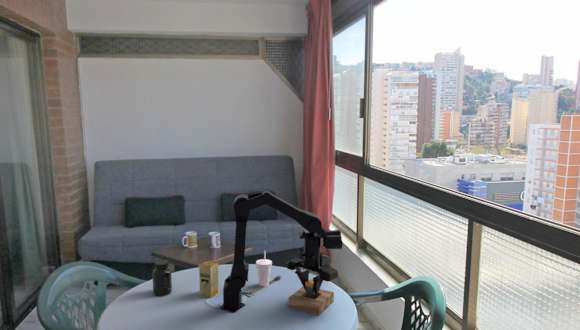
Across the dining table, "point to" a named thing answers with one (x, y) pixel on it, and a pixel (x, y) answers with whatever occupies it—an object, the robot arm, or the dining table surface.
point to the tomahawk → (260, 287)
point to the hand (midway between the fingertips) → (311, 292)
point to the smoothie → (264, 271)
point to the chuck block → (311, 301)
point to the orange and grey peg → (310, 289)
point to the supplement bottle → (162, 279)
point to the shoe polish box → (208, 278)
